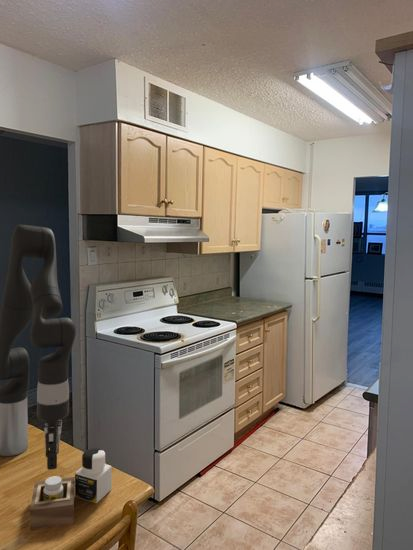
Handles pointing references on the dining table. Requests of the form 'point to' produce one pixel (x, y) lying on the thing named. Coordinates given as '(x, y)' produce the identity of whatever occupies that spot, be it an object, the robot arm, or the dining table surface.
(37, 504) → the socket block
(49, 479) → the supplement bottle
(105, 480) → the medicine bottle
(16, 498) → the dining table surface
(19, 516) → the dining table surface
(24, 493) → the dining table surface
